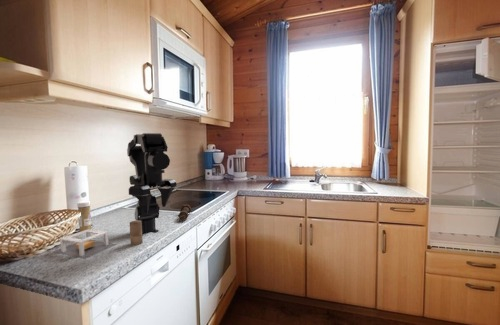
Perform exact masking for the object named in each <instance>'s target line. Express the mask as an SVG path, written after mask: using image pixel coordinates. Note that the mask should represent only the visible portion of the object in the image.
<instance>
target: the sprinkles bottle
mask: <svg viewBox="0 0 500 325" xmlns="http://www.w3.org/2000/svg"><path fill="white" fill-rule="evenodd" d="M76 204H77V205H76V206H77V210H78V211H80V212H81V216H80V219H79V218H78V227H79V232H81V231H84V230H87V229H91V230H92V215H91V201H90V200H80V201H77V203H76Z"/></svg>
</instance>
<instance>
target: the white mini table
mask: <svg viewBox="0 0 500 325" xmlns="http://www.w3.org/2000/svg"><path fill="white" fill-rule="evenodd" d="M83 234H85V238H83V239H81V238H76V237H78V236H81V235H83ZM92 234H93V235H92ZM102 236H103V241H100V240H95V239H96V238H99V237H102ZM89 240H91V241H95V245H94V246H92V247H90V248H87V249H85V250H84V242H86V241H89ZM59 242H60V248H58V249H57V250H56V249H55V250H53V251H52V253H55V254H61V255H64V256H70V257H74V258H78V259H79V258H80V259H84V260H86V259H88V258H91V257H92V256H95V255H97V254H98V253H101V252H103V251H105V250H108V249H110V248H112V247H114V246H117V245H118V243H117V244H116V243H111V242H109V232H108V231H103V230H98V229H92V228H91V229H87V230H84V231H81V232H80V231H78V232H76V233H73V234H70V235H67V236H64V237H61V238H60V239H59ZM67 242H71V243H72V244H70V245H67V246H66V243H67ZM77 243H79V249H77V248H76V244H77Z"/></svg>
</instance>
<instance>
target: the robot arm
mask: <svg viewBox="0 0 500 325" xmlns="http://www.w3.org/2000/svg"><path fill="white" fill-rule="evenodd" d="M132 138H133V139H132V140H130V141H129V142H128V144H127V149H126V152H127V154H126V155H127V157H129V158H128V159H129V162H130V163H131V164H132V165H133V166H134V169H135V174H133V175H130V176H129V184H130V185H131V186H129V188H128V195H129V196H132V197H133V198H134V197H135V198H136V199H137V203H136V206H135V211H134V221H136V220H140V221H142V235H146V234H150V233H152V234H156V233H158V232H159V229H156V219H159V216H160V208H161V207H160V206H159V203H158V202H157V197H156V196H155V195H153V194H152V192H151V191H152V190H158V191H159V193H160V198H161V200H160V201H161V206H162V207H163V208H165V207H166V206H167V204H168V202H169V199H170V197H171V195H172V193H173V191H174V190H175V188H176V187H177V180H176V179H168V178H167V179H166V178H164V179H163V174H165V169H167V168H168V167H169V165H170V162H171V160H170V159H171V158H170V157H169V156H168V155H167V154H166V153H168V147H169V146H168V144H167V142H166V140H165V139H166V138H164V136H163V135H162V133H157V132H154V133H150V132H147V133H145V132H144V133H141V134H140V133H139V134H137V133H136V134H133V137H132ZM165 152H166V153H165Z"/></svg>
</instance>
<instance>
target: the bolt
mask: <svg viewBox="0 0 500 325" xmlns="http://www.w3.org/2000/svg"><path fill="white" fill-rule="evenodd" d="M191 211H192V208H191V206H190V205H189V204H183V205H182V206H181V208H180V212H179V213H178V215H177V217H178V220H179V221H180V222H184V221H186V220H187V219H188V218H189V215H190V213H191ZM188 213H189V214H188ZM185 219H186V220H185Z"/></svg>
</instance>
